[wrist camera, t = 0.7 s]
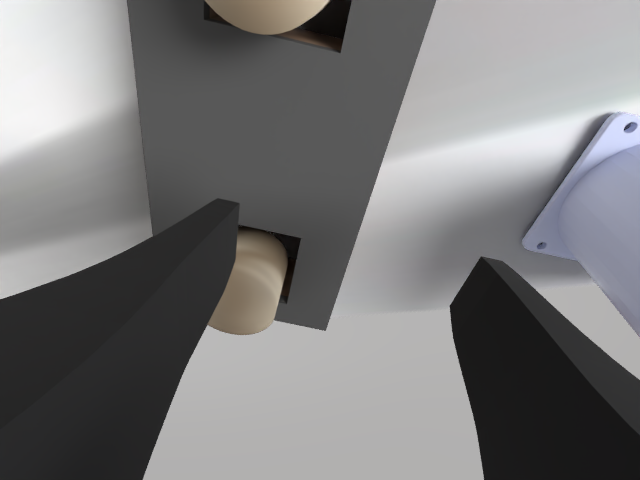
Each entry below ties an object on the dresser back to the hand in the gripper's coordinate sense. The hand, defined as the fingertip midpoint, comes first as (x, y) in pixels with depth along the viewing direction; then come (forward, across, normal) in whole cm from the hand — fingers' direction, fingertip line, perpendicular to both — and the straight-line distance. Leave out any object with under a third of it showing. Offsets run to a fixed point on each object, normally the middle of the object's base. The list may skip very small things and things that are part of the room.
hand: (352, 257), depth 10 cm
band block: (+10, +4, 0) cm, 11 cm away
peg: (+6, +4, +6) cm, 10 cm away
